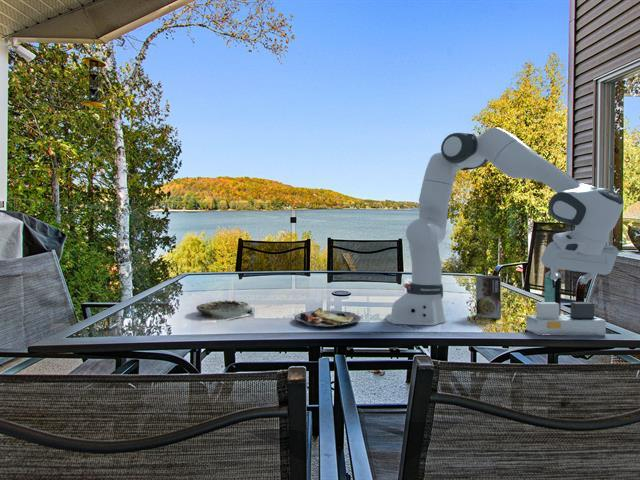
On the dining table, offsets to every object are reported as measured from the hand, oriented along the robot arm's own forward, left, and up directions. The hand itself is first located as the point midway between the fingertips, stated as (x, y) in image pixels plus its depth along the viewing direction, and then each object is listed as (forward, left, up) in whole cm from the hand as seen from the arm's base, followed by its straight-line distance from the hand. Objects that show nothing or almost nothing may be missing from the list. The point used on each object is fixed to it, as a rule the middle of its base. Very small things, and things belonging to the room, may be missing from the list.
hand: (567, 280), depth 132 cm
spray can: (+11, +29, -19) cm, 37 cm away
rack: (+5, +10, -19) cm, 22 cm away
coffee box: (-11, +35, -19) cm, 42 cm away
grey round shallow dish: (-119, +43, -20) cm, 128 cm away
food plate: (-75, +27, -19) cm, 82 cm away
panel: (-1, +10, -18) cm, 21 cm away
